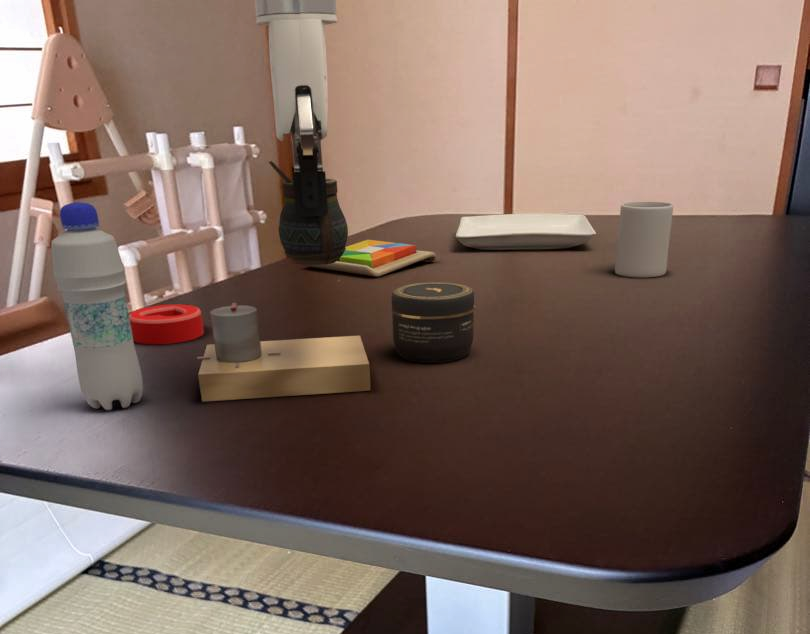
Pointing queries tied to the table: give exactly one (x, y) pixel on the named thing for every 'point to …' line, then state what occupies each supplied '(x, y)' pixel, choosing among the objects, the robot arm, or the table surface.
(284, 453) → the table surface
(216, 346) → the cylinder
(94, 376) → the bottle
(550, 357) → the table surface
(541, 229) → the square plate
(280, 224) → the mate gourd
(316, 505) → the table surface
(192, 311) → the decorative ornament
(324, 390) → the wooden peg base
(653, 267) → the mug
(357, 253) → the wooden puzzle
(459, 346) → the jar
